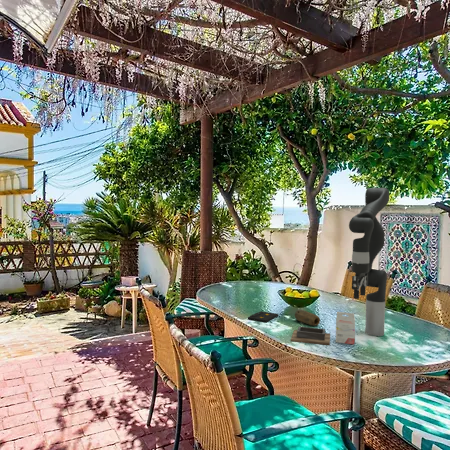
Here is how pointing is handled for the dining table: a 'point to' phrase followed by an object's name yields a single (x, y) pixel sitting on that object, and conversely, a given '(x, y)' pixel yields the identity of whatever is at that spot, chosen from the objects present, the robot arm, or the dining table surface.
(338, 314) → the ink cartridge box
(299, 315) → the brown cylinder
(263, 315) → the cassette tape
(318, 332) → the dock
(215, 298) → the dining table surface
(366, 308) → the robot arm
